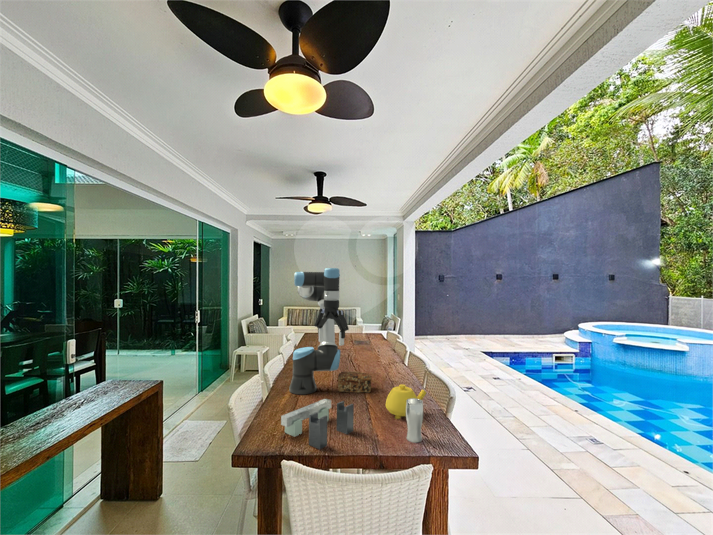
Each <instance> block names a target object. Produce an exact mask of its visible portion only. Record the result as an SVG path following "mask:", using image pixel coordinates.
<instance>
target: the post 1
mask: <svg viewBox="0 0 713 535" xmlns="http://www.w3.org/2000/svg"><path fill="white" fill-rule="evenodd" d="M308 445H309V446H310V447H313V448H315V449H317V450H322V449H324V448H326V447H327V446H328V421H327V416H324V417H321V418H319V419H318V412H316V413H313V414H311V415H309V418H308Z"/></svg>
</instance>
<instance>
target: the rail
mask: <svg viewBox="0 0 713 535" xmlns="http://www.w3.org/2000/svg"><path fill="white" fill-rule="evenodd" d="M327 407H328V408H329V410H330V409H332V399H328V398H323V399H320V400H318V401H315V402H313V403H310V404H308V405H305V406H303V407H300V408H298V409H295V410H293V411H290V412H288V413H284V414H282V415H280V417H281V418H280V425H281V426H282V427H284V428H285V427H288V426H291V425H293V422H295V421H297V420H299V419H302V421H304V420H306V419H309V415H311V414H313V413H316V412H318V413H321V410H323V409H325V408H327Z"/></svg>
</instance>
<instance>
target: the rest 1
mask: <svg viewBox="0 0 713 535" xmlns="http://www.w3.org/2000/svg"><path fill="white" fill-rule="evenodd" d="M284 433H285V434H287V435H289V436H292V437H295V438H296V437H298V436H299V434H300V435H301V434H303V420H302V419H299V420H297V421H295V422H293V425H291V426H288V427H285V426H284Z"/></svg>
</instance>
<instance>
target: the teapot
mask: <svg viewBox="0 0 713 535" xmlns="http://www.w3.org/2000/svg"><path fill="white" fill-rule="evenodd" d="M427 393H428V392H427V391H426V390H425V389H423V388H422V389H421V391H420V392H419V393H418V395H416V392H414V390H413V389H412V388H411V387H410V386H407V385H406V384H399V385H398V386H394V387H392V389H391V390H390V392H389V393H388V395H387V397H386V401H385V408H386V410H387V411H388V412H389V413H390V414H392V415H394V419H395V420H400V419H401V418H402V417H406V400H407V399H411V398H415V399H420V400H422V401H423V399H424V398H425V396H426V394H427Z"/></svg>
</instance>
